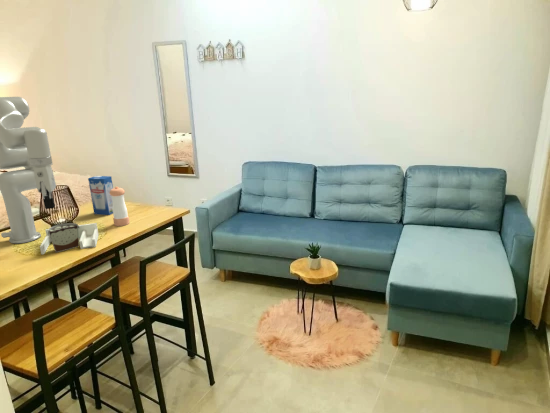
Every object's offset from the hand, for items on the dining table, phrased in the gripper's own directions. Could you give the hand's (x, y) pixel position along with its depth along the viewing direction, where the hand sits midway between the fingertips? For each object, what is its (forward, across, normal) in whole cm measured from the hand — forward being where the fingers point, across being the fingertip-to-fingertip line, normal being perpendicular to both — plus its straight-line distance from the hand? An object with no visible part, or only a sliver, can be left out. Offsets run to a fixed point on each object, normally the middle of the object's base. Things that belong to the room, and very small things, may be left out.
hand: (50, 207), depth 160 cm
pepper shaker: (+21, +35, -23) cm, 47 cm away
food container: (+21, +11, -1) cm, 24 cm away
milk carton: (+21, +59, -14) cm, 64 cm away
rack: (+21, +14, -3) cm, 25 cm away
